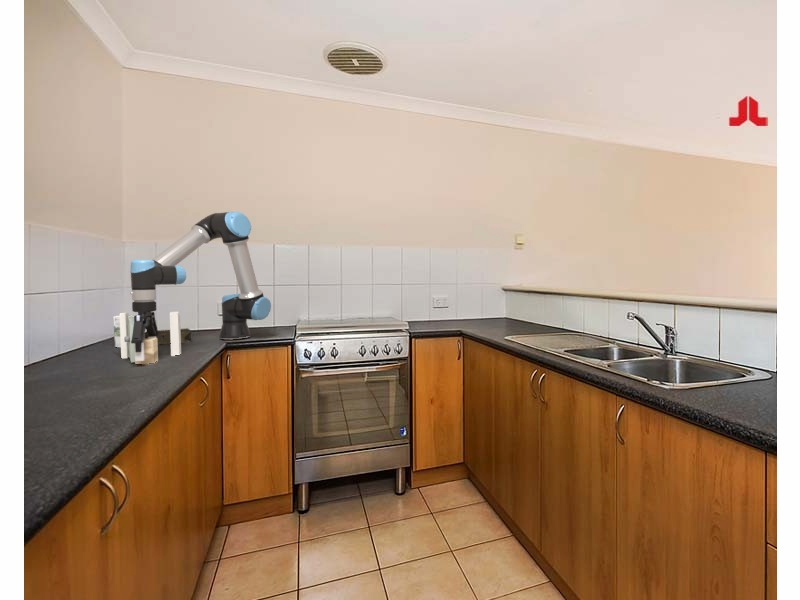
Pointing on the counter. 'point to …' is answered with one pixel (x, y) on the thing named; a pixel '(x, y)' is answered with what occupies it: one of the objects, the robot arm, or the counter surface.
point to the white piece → (174, 334)
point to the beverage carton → (165, 336)
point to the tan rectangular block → (149, 351)
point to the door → (129, 338)
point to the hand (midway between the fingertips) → (146, 356)
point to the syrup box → (117, 330)
